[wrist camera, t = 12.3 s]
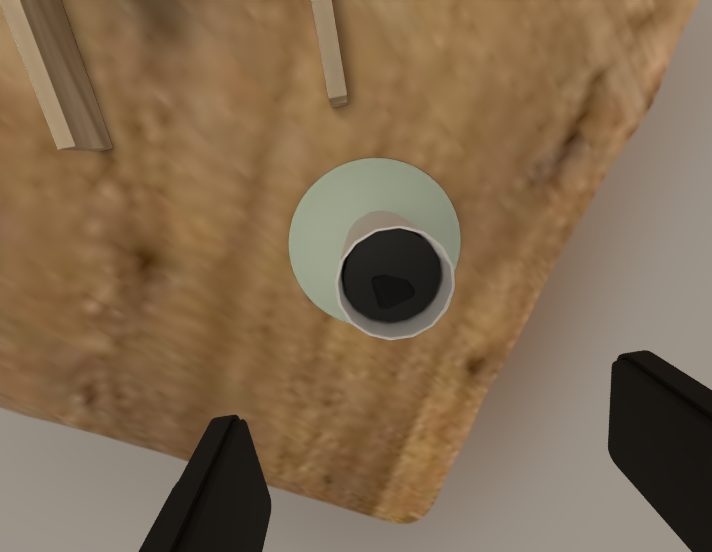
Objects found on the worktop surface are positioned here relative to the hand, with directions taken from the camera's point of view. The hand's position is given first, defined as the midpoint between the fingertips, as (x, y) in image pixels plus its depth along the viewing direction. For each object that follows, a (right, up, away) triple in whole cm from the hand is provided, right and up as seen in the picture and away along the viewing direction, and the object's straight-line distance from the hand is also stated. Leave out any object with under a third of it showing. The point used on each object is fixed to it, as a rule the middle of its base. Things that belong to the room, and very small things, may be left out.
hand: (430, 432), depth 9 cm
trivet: (0, +6, +21) cm, 22 cm away
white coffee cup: (0, +6, +20) cm, 22 cm away
